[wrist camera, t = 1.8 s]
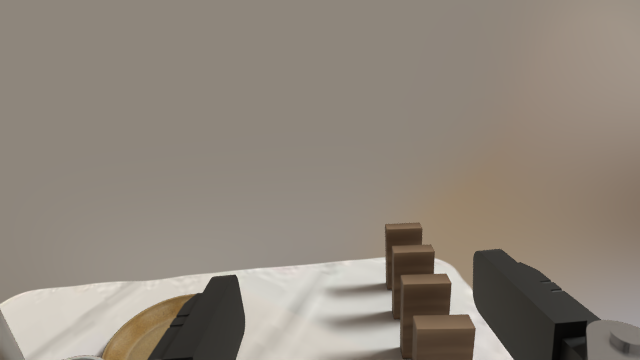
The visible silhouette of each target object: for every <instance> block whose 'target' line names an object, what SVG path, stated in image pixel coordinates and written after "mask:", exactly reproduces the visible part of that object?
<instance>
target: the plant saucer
mask: <svg viewBox="0 0 640 360" xmlns="http://www.w3.org/2000/svg"><path fill="white" fill-rule="evenodd" d="M194 295H195V294H190V295H183V296H178V297H174V298H171V299H168V300H165V301H162V302H160V303H158V304H156V305H153V306H151V307H149V308H147V309H146V310H144V311H142V312H140V313H139V314H137V315H136V316H134V317H133V318H132V319H130V320H129V321H128V322H127V323H125V324H124V325H123V326H122V327H121V328H120V329H119V330H118V331H117V332H116V333H115V334H114V336H113V337H112V338H111V339H110V341H109V343H108V344H107V346H106V348H105V350H104V352H103V355H102V359H103V360H147V359H148V357H149V356H150V354H151V353H152V351H153V350H154V348H155V347H156V345H157V344H158V342H159V341H160V339H161V338H162V336H163V335H164V333H165V332H166V330H167V329H168V328H170V324H171V323H172V321H173V320H174V318H176V315H177V314H178V312H179V311H180V309H181V308H182V306H183V304H184V303H186V302H187V301H188V300H189V299H190V298H192V297H193V296H194Z"/></svg>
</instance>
